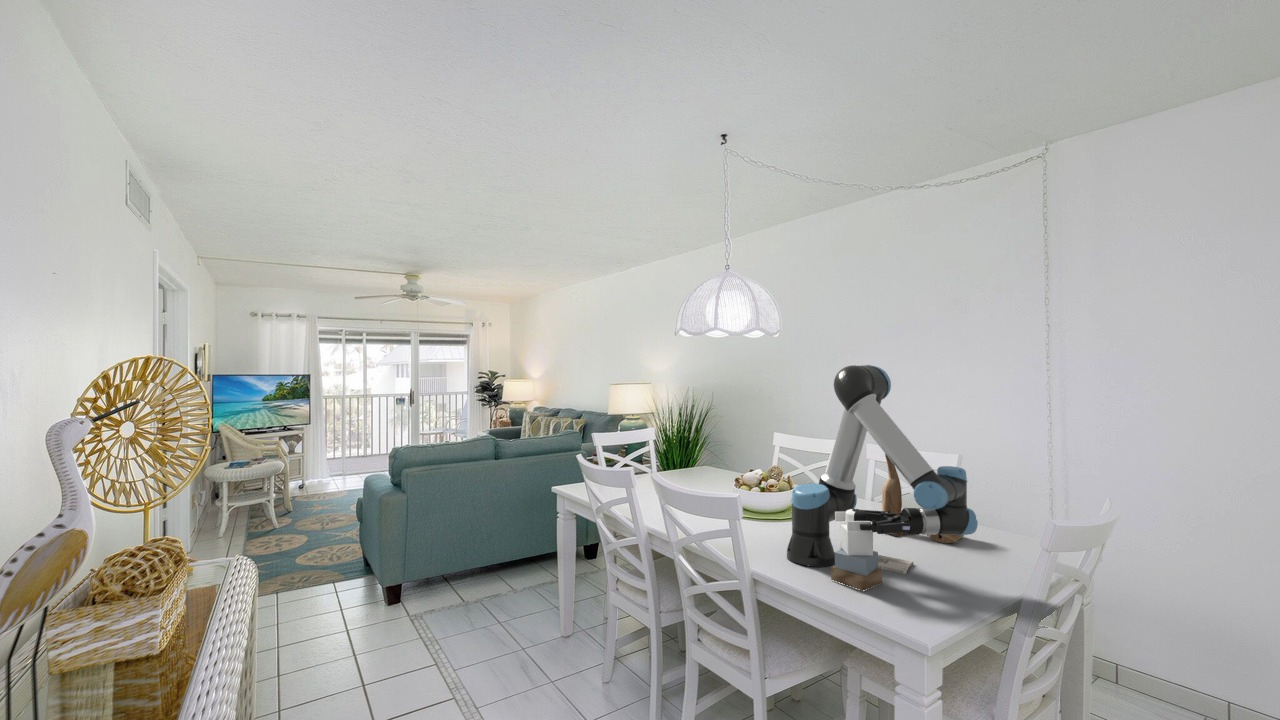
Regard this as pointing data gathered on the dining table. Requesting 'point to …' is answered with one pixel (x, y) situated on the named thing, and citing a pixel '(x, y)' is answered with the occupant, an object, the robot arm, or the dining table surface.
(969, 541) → the dining table surface
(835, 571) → the tower base block
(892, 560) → the newspaper
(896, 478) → the bird sculpture
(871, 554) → the medicine bottle
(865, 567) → the tower top block
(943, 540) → the brown chunky piece
